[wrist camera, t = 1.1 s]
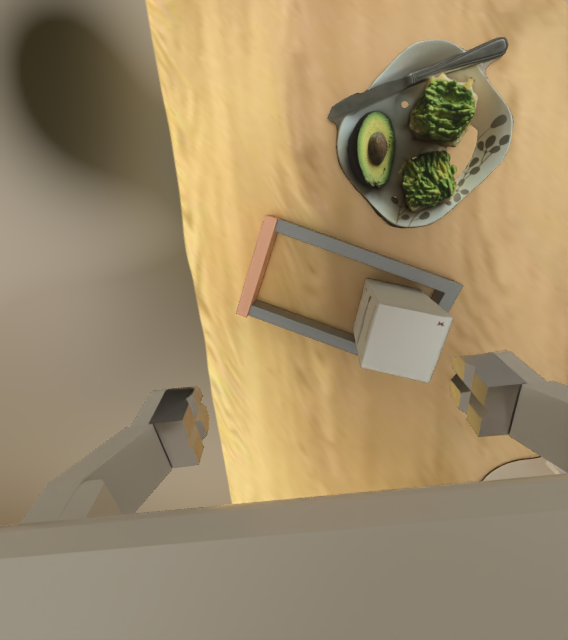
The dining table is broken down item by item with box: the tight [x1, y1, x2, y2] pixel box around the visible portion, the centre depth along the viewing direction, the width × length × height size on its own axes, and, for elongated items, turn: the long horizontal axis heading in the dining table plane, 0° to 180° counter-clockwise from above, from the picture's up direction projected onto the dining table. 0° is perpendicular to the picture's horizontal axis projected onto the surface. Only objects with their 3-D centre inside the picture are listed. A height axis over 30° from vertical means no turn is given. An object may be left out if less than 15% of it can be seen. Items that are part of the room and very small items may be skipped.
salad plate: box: [328, 37, 513, 228], centre depth 34 cm, size 19×18×5 cm
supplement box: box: [353, 279, 453, 383], centre depth 37 cm, size 7×7×13 cm
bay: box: [236, 215, 463, 355], centre depth 41 cm, size 25×13×4 cm, turn 71°
